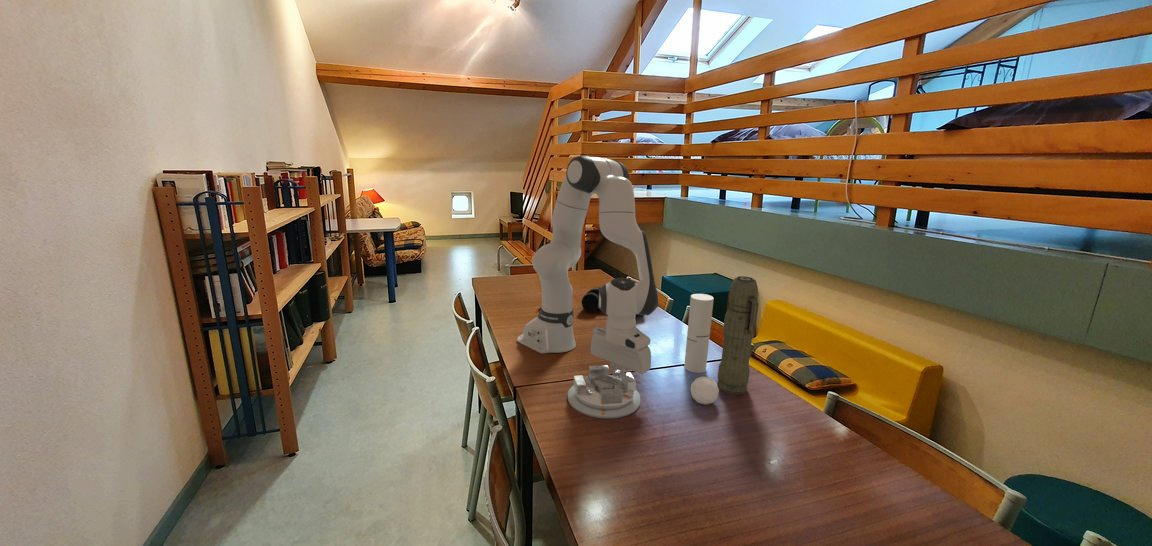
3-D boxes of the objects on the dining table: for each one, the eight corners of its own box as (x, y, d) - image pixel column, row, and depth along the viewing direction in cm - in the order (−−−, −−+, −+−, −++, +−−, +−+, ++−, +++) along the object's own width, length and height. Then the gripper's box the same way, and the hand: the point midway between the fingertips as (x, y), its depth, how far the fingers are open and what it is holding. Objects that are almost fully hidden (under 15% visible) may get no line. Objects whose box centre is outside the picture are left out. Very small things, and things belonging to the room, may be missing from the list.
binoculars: (580, 313, 203) (581, 291, 201) (587, 302, 223) (588, 282, 221) (645, 318, 199) (647, 296, 197) (646, 307, 219) (647, 286, 217)
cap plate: (553, 401, 130) (553, 398, 130) (593, 374, 147) (593, 371, 147) (617, 427, 119) (617, 423, 118) (652, 395, 135) (652, 391, 135)
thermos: (729, 376, 148) (742, 272, 140) (756, 393, 138) (772, 282, 129) (707, 381, 145) (719, 274, 136) (734, 399, 134) (748, 285, 126)
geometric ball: (708, 413, 131) (718, 402, 125) (682, 399, 133) (691, 388, 127) (716, 392, 136) (726, 380, 130) (691, 379, 138) (700, 367, 131)
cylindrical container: (706, 373, 150) (714, 301, 144) (684, 371, 151) (691, 299, 145) (705, 364, 157) (712, 294, 150) (683, 362, 158) (690, 292, 152)
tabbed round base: (563, 397, 130) (563, 381, 129) (595, 375, 144) (595, 360, 143) (614, 417, 121) (615, 400, 120) (643, 391, 135) (644, 376, 133)
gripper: (586, 327, 138) (585, 368, 142) (642, 346, 125) (639, 392, 129) (600, 322, 143) (598, 362, 146) (655, 340, 130) (652, 384, 133)
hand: (618, 376), depth 137 cm, fingers closed
